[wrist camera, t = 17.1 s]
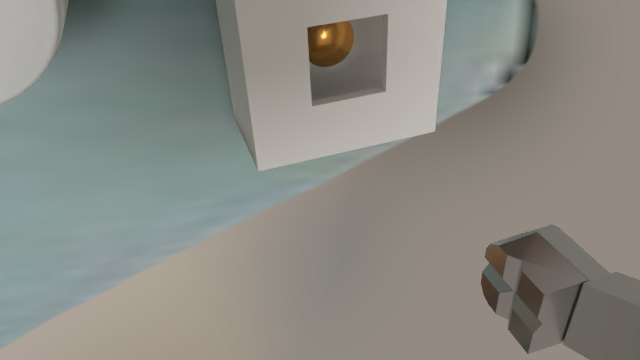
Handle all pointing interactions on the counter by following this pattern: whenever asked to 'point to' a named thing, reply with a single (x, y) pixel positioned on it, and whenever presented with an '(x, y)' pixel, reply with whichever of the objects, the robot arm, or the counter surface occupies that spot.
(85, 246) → the counter surface
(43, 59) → the supplement tub
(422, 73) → the box
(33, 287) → the counter surface
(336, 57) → the orange ball
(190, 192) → the counter surface
